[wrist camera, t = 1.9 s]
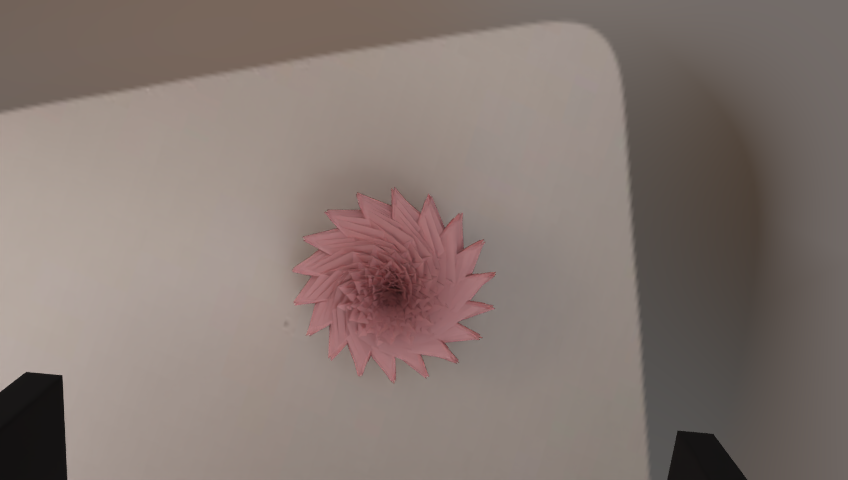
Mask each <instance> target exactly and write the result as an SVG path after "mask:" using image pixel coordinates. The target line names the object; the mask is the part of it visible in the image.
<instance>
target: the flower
mask: <svg viewBox="0 0 848 480" xmlns="http://www.w3.org/2000/svg"><path fill="white" fill-rule="evenodd" d="M391 189H392V188H391ZM391 193H392V205H389V204H385V203H383V202H380V201H378V200H375V199H373V198H370V197H368V196H365V195H363V194H360V193H358V192H357V194H358V195H357V194H356V196H357V199H358V201H359V202H358V204H359V206H360V209H361V210H327V211H328V212H325V213H326V214H327V216H328V217H329V218H330V220H331V221H332V222H333V223H334V224H335V225H336V227H337V228H336V229H332V230H328V231H324V232H320V233H316V234H312V235H308V236H303V238H304V239H305V240H303V241H305V242H307V243H309V244H311V245H313V246H314V247H316V248H318V249H319V250H317V251H316V252H315V253H314V254H313V255H312V256H310V257H309V258H308V259H306V260H304V261H303V262H301V263H300V264H298V265H297V266H295V267H294V269H292V270H293V272H295V273H300V274H304V275H310V276H312V277H311V278H310V279H309V281H308V282H307V284H306V285H305V286H304V288H303V289H302V290H301V292H300V293H299V295H298V296H297V297H296V299H295V300H294V303H296V304H295V305H301V304H309V303H315V307H314V310H313V314H312V318H311V321H310V325H309V328H308V331H307V334H306V336H307V335H309V334H310V335H312V334H314V333H316V332H318V331H319V330H321V329H323V328H325V327H327V326H328V325H330V334H329V354H328V359H329V358H330V357H331V358H330V360H331V361H332V360H333V359H334V358H335V356H337V354H338V353H340V351H341V350H342V349H343V348H344V347H345V345H346V344H347V345H348V347H349V350H350V353H351V355H352V358H353V360H354V363H355V366H356V370H357V374H358V376H360V375H363V372H364V369H365V366H366V364H367V361H369V358H370V356H372V358H373V359H374V360H375V361H376V362H377V364H378V365H379V366H380V367H381V368H382V370H383V371H384V372H385V374H386V375H387V376H388V378H389V379H390V380H391V382H392V381H393V383H394V380H396V365H395V357H397V358H399V359H402V360H403V361H404V362H406V363H407V364H408V365H409V366H411V367H412V368H413V369H414V370H416V371H417V372H418V373H420V374H421V375H422V376H423V377H425V378H426V377H427V376H428V377H429V375H428V372H427V369H426V367H425V363H424V361H423V359H422V356H421V354H422V355H429V356H435V357H440V358H443V359H446V360H448V361H451V362H454V363H456V364H457V362H458V361H457V360H458V359H457V358H456V357H455V356H454V354H453V353H452V352H451V351H450V350H449V349H448V348H449V347H448V346H447V345H446V344H445V343H447V342H456V341H465V340H480V339H479V338H482V337H480V336H479V335H480V334H478V333H476V332H474V331H472V330H470V329H469V328H467V327H465V326H463V325H461V324H459V323H458V322H459V321H461V320H464V319H467V318H470V317H473V316H476V315H478V314H481V313H484V312H487V311H490V310H493V309H495V308H493V307H492V306H493V305H489V304H485V303H481V302H475V301H470V300H471V299H472V298H473V296H474V295H475V294H476V293H477V292H478V290H479V289H480V288H481V287H482V285H484V284H485V283H486V282H488V281H489V280H490V279H492V278H493V277H494V275H496V274H495V273H496V272H488V273H482V274H472V273H473V270H474V268H475V265H476V262H477V260H478V257H479V255H480V252H481V249H482V247H483V245H484V243H485V242H483V240H484V239H483V240H479V241H477V242H476V243H474V244H472V245H470V246H468V247H467V248H465V249H464V247H463V229H462V217H463V213H462V214H461V215H460V214H458V215H457V216H456V217H455V218H453V219H452V220H451V221H450V223H449V224H448V225H447V226H446V227H444V225H443V222H442V220H441V217H440V215H439V212H438V210H437V208H436V205H435V203H434V200H433V198H432V196H431V197H430V195H429V194H428V196H427V199H426V201H425V202H424V205H423V208H422V211H421V213H420V212H419V211H418V210H416V209H415V208H414V207H413V206H412V205H411V204H410V203H409V202H407V201H406V200H405V198H404V197H403V196H402V195H401V194H400V193H399V191H398V190H397V189H396V188H395V187H394V190H393V189H392V190H391ZM482 242H483V243H482ZM295 305H294V306H295ZM458 363H459V362H458Z"/></svg>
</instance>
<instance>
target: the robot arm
mask: <svg viewBox="0 0 848 480" xmlns="http://www.w3.org/2000/svg"><path fill="white" fill-rule="evenodd" d="M0 480H67V465H66V443H65V422H64V400H63V379H62V375H53V374H41V373H30V372H26V373H24V374H23V375H22V376H20V377H19V378H18V379H17V380H15V381H14V382H13V383H11V384H10V385H9V386H7V387H6V388H5V389H4V390H2V391H1V392H0ZM668 480H747V479H746V477H745V476H744V475H743V473H742V472H741V471H740V469H739V468H738V467H737V465H736V464H735V463H734V461H733V460H732V459H731V457H730V456H729V455H728V453H727V452H726V451H725V449H724V448H723V447H722V445H721V444H720V443H719V441H718V440H717V439H716V437H715V436H714V434H708V433H697V432H686V431H678V432H677V436H676V441H675V446H674V451H673V455H672V460H671V465H670V470H669V475H668Z"/></svg>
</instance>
